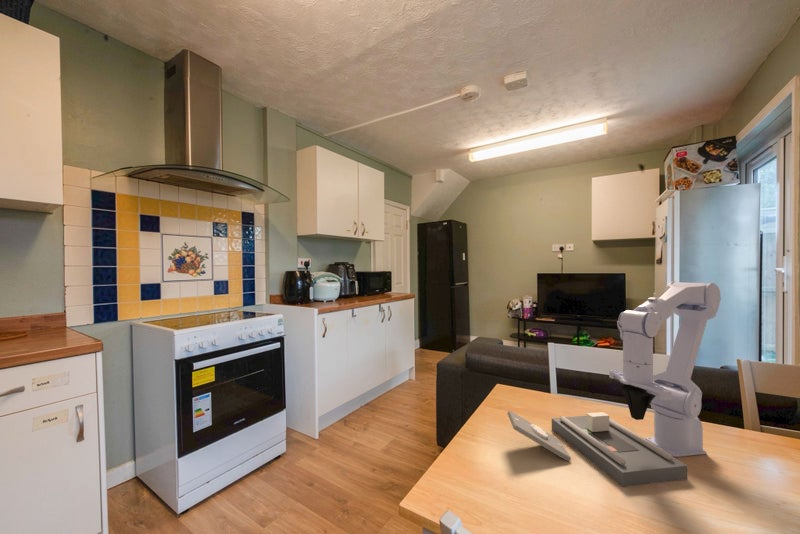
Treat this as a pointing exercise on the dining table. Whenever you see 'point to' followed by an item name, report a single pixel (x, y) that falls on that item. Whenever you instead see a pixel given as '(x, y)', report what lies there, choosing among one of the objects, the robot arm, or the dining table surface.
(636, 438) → the pair of cream rails
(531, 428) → the light switch
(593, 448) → the box
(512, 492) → the dining table surface
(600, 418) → the lever
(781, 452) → the dining table surface
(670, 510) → the dining table surface
